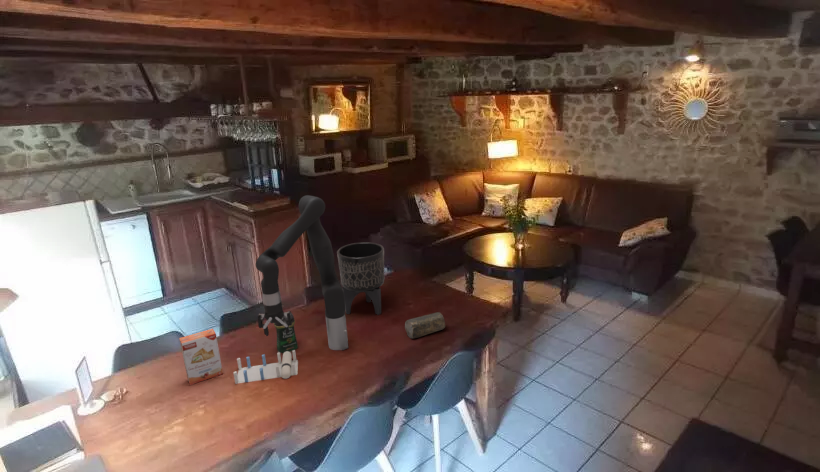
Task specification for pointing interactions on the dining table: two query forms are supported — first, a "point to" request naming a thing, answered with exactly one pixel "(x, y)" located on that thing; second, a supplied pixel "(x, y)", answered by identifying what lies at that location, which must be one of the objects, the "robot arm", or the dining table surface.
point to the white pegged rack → (263, 370)
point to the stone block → (424, 325)
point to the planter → (362, 272)
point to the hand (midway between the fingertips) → (277, 334)
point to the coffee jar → (286, 337)
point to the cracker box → (201, 356)
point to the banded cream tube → (286, 365)
